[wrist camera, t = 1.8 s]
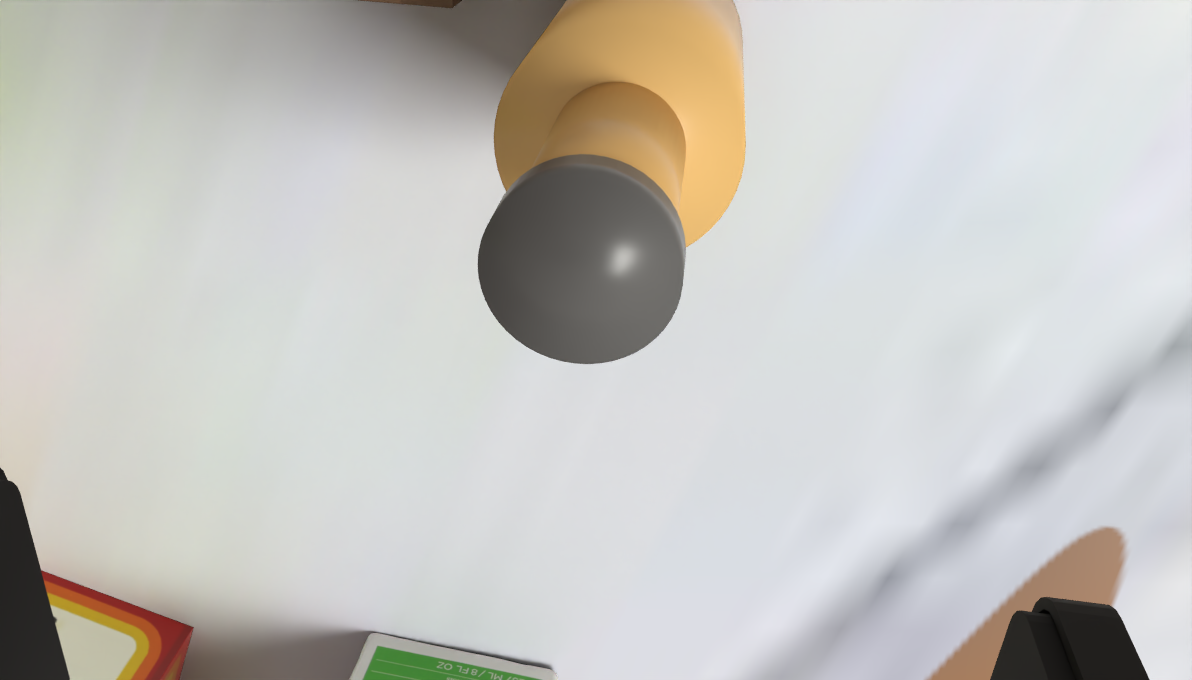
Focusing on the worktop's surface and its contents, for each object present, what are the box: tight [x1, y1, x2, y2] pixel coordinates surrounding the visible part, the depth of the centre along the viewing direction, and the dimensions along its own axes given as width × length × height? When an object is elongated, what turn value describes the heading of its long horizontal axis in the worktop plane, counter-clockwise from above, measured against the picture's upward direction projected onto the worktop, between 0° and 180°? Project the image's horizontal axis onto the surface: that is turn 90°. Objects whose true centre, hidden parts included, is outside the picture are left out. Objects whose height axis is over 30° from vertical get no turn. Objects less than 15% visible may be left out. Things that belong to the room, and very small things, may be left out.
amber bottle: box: [478, 0, 746, 364], centre depth 22 cm, size 5×5×15 cm
